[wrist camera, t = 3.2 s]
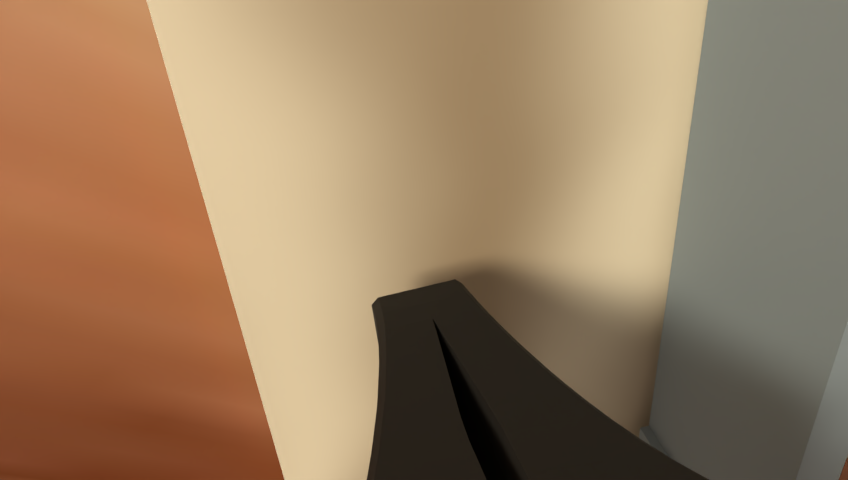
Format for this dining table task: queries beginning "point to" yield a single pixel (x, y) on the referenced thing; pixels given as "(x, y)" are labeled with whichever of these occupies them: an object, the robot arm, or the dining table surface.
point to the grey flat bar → (761, 252)
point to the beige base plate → (436, 185)
